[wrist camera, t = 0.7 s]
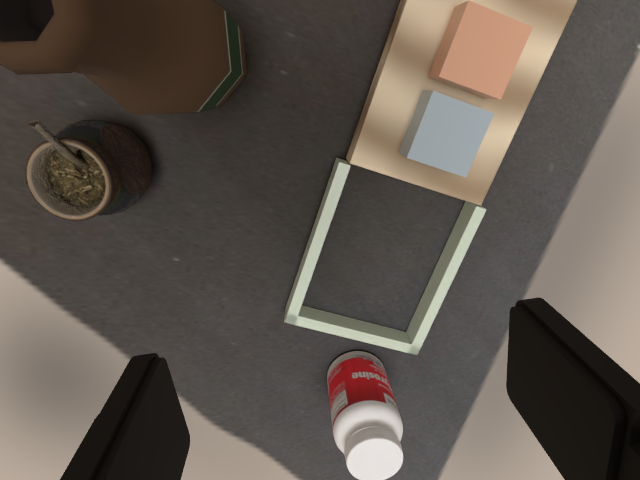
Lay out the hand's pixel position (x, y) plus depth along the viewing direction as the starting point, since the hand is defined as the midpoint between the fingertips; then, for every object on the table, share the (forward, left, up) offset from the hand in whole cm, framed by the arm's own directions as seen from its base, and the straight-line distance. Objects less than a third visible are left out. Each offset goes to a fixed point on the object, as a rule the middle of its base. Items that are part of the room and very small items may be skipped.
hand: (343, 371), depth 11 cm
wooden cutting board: (-12, +9, -27) cm, 31 cm away
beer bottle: (-6, -11, -27) cm, 30 cm away
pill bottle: (+19, +11, -27) cm, 35 cm away
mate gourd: (+4, -16, -27) cm, 31 cm away
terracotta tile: (-13, +9, -24) cm, 29 cm away
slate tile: (-7, +9, -24) cm, 27 cm away
